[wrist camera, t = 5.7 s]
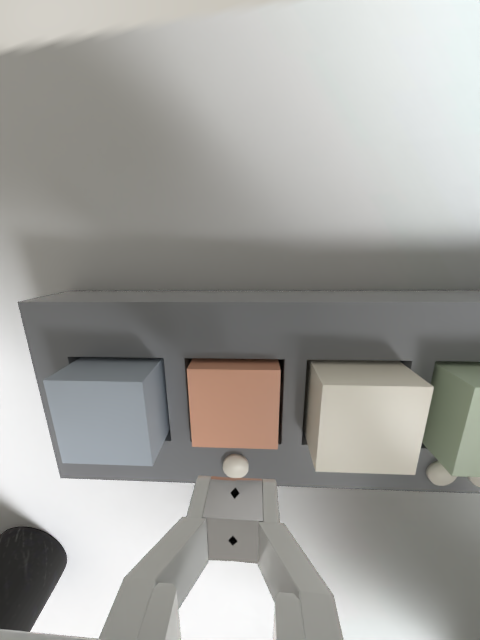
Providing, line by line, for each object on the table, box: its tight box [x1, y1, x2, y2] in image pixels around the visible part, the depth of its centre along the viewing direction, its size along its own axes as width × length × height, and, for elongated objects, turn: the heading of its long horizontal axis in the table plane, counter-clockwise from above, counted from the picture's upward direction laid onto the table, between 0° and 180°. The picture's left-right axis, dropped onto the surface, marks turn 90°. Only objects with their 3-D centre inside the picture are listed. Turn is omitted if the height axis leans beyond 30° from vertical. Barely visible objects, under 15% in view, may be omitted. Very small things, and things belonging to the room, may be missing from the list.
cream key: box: [303, 360, 434, 475], centre depth 14 cm, size 5×5×4 cm
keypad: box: [18, 290, 480, 493], centre depth 16 cm, size 30×12×4 cm, turn 91°
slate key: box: [43, 357, 170, 466], centre depth 15 cm, size 5×5×4 cm
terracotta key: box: [187, 358, 281, 449], centre depth 16 cm, size 5×5×4 cm
